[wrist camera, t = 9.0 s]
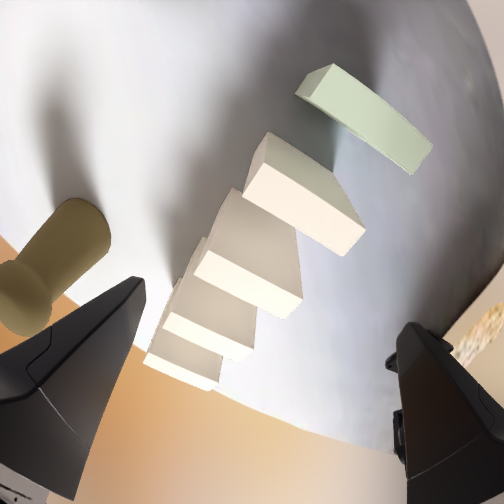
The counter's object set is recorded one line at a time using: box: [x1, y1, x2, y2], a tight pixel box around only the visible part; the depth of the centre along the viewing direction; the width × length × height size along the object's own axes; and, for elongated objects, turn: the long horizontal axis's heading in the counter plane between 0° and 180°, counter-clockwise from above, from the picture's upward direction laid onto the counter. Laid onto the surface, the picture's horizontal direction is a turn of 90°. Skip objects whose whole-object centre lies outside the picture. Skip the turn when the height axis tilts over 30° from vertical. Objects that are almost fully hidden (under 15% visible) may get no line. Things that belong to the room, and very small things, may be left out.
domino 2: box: [162, 237, 257, 363], centre depth 19 cm, size 2×5×8 cm, turn 59°
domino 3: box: [143, 277, 223, 391], centre depth 21 cm, size 2×5×8 cm, turn 59°
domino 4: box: [242, 131, 366, 257], centre depth 15 cm, size 2×5×8 cm, turn 59°
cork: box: [0, 198, 111, 337], centre depth 17 cm, size 6×6×11 cm
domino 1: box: [193, 187, 303, 320], centre depth 17 cm, size 2×5×8 cm, turn 59°
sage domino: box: [294, 63, 433, 176], centre depth 12 cm, size 2×5×8 cm, turn 60°
